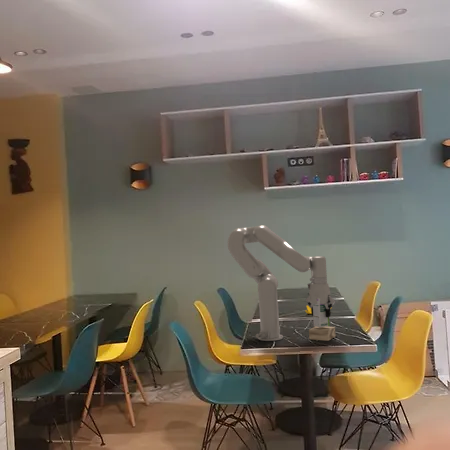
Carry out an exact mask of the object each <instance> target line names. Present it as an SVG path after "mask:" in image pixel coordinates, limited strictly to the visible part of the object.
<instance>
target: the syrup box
mask: <svg viewBox="0 0 450 450" xmlns="http://www.w3.org/2000/svg"><path fill="white" fill-rule="evenodd" d="M325 310H326V307H325V305H324V304H320V298H317V304H313V316H312V317H313V327H315V326H316V327H320V328H321V327H331V326H330V317H326V311H325Z"/></svg>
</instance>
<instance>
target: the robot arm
mask: <svg viewBox="0 0 450 450" xmlns="http://www.w3.org/2000/svg"><path fill="white" fill-rule="evenodd" d="M252 243H253V244H254V243H260V244H261V245H262V246H263V247H264V248H266V249H268V250H269V251H270V252H271V253H273V254H274V255H276V256H277V257H278V258H280V259H282V260H283V261H284V262H285V263H287V264H288V265H289V266H290V267H292V268H293V269H295V270H297V271H298V272H300V273H306V272H308V271H310V272H311V273H310V274H311V277H310V278H309V281H310V283H311V282H312V283H311V284H310V289H309V288H308V293H309V295H308V297H307V298H306V299H305V301H306V303H307V304H308V306H309V307H310V308H311V313H312V314H311V316H312V317H313V304H317V298H320V304H324V305H325V307H326V310H325V311H326V317H329V318H330V317H331V314H332V313H331V309H332V308H333V306H334V304H335V303H336V300H335V299H334V298H333V297H331V289H330V285H329V283H328V278H327V277H328V276H327V274H328V273H327V258H326V257H325V256H322V255H317V256H316V255H315V256H307V255H306V256H305V255H302V254H301V253H300V252H299V251H297V250H296V249H294V248H293V246H291V245H290V244H289V243H288V242H287V241H286V240H285V239H284V238H282V237H281V236H280V235H278V234H277V233H275V232H274V231H273V230H272V229H270V227H268V226H267V225H264V224H263V225H261V224H260V225H257V226H249V227H237V228H234V229H233V230H232V231H231V232H230V234H229V236H228V239H227V248H228V252H229V253H230V256H232V257H233V259H234V260H235V262H236V263H237V264H238V266H239V267H240V268H241V269H242V270H243V271H244V273H245V274H246V276H247V277H249V278H250V279H253V280H254V281H255V282H256V284H257V293H258V294H257V296H258V305H259V324H260V330H259V333H256V334H255V338H257V339H258V340H260V341H263V342H264V341H265V342H274V341H279V340H282V339H284V336H283V334H280V317H279V301H278V287H279V280H278V279H277V277H276V276H275V275H274V274H273V272H272V271H271V270H270V269H269V268H268V267H267V265H266V264H265V263H264V262H263V261H262V260H261V259H259V258H258V259H257V258H256V257H255V256H254V255H253V254H252V253H251V251H250V250H249V249H248V248H247V246H246V245H245V244H252ZM331 307H332V308H331ZM330 308H331V309H330Z"/></svg>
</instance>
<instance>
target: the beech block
mask: <svg viewBox="0 0 450 450" xmlns="http://www.w3.org/2000/svg"><path fill="white" fill-rule="evenodd" d="M308 337H309V340H314V341H327V342H328V341H330V340H332V339H334V338H335V337H336V326H327V327H321V328H320V327H316V326H313V327H312V328H309V329H308Z"/></svg>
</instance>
